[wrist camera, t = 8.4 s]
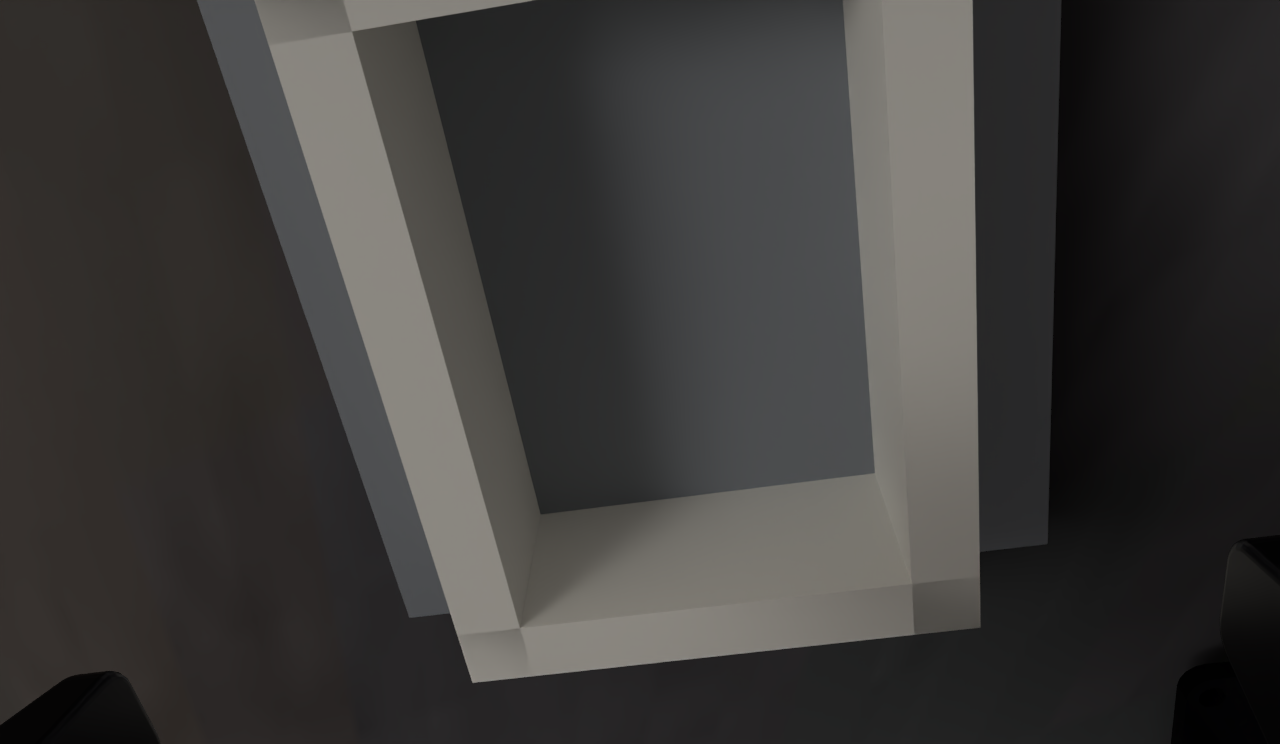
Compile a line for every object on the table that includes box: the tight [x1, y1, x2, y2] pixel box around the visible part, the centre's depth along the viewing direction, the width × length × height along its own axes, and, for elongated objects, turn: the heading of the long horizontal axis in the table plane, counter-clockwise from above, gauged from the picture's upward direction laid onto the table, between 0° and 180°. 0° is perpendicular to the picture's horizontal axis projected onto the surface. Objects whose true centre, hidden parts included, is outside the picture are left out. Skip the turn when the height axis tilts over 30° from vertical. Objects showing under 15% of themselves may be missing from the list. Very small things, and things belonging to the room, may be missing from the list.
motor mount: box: [197, 0, 1061, 683], centre depth 12 cm, size 20×12×7 cm, turn 9°
